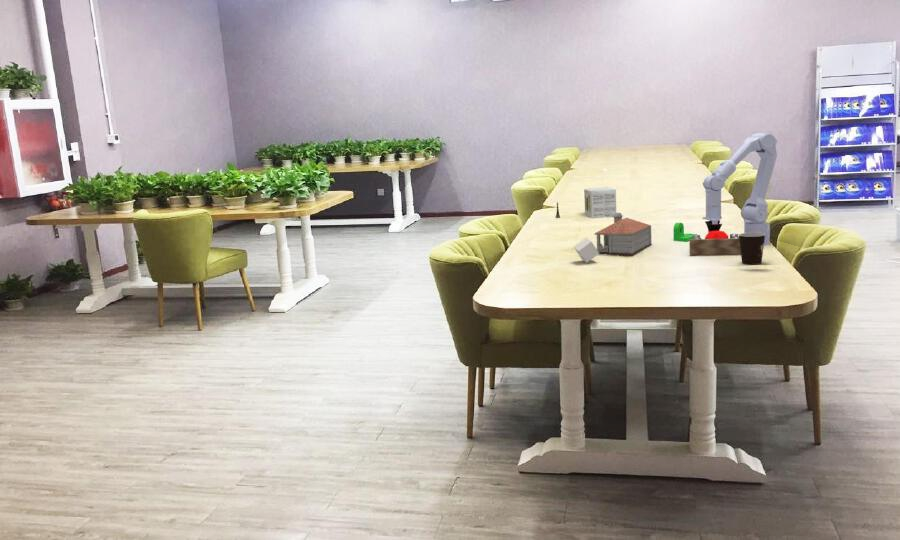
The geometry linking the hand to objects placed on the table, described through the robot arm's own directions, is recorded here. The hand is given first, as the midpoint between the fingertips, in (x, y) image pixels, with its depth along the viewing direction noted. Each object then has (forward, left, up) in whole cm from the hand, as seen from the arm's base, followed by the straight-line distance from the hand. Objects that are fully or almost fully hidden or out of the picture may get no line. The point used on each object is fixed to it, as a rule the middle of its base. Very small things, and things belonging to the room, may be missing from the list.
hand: (713, 240), depth 301 cm
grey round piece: (0, +10, -3) cm, 11 cm away
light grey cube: (+48, +26, -3) cm, 54 cm away
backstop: (0, +17, -3) cm, 17 cm away
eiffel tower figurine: (+70, -78, -4) cm, 105 cm away
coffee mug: (-11, +33, -3) cm, 35 cm away
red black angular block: (-1, +8, -3) cm, 9 cm away
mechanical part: (+9, -20, -3) cm, 22 cm away
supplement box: (+48, -82, -3) cm, 95 cm away
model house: (+35, +2, -3) cm, 35 cm away
